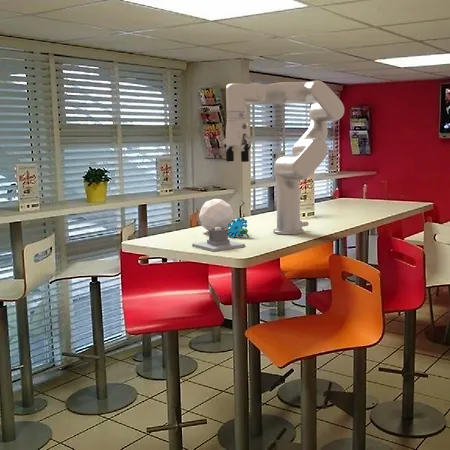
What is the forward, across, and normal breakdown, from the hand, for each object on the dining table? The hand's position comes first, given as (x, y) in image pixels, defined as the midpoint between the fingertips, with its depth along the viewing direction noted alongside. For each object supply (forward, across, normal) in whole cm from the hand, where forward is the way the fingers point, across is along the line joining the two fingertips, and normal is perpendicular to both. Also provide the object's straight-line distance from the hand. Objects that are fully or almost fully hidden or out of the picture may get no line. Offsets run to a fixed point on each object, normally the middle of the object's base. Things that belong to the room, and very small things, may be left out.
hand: (237, 161), depth 230 cm
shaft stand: (+30, -9, +16) cm, 35 cm away
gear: (+31, +4, -2) cm, 31 cm away
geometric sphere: (+31, +20, -3) cm, 37 cm away
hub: (+28, -9, +16) cm, 33 cm away
